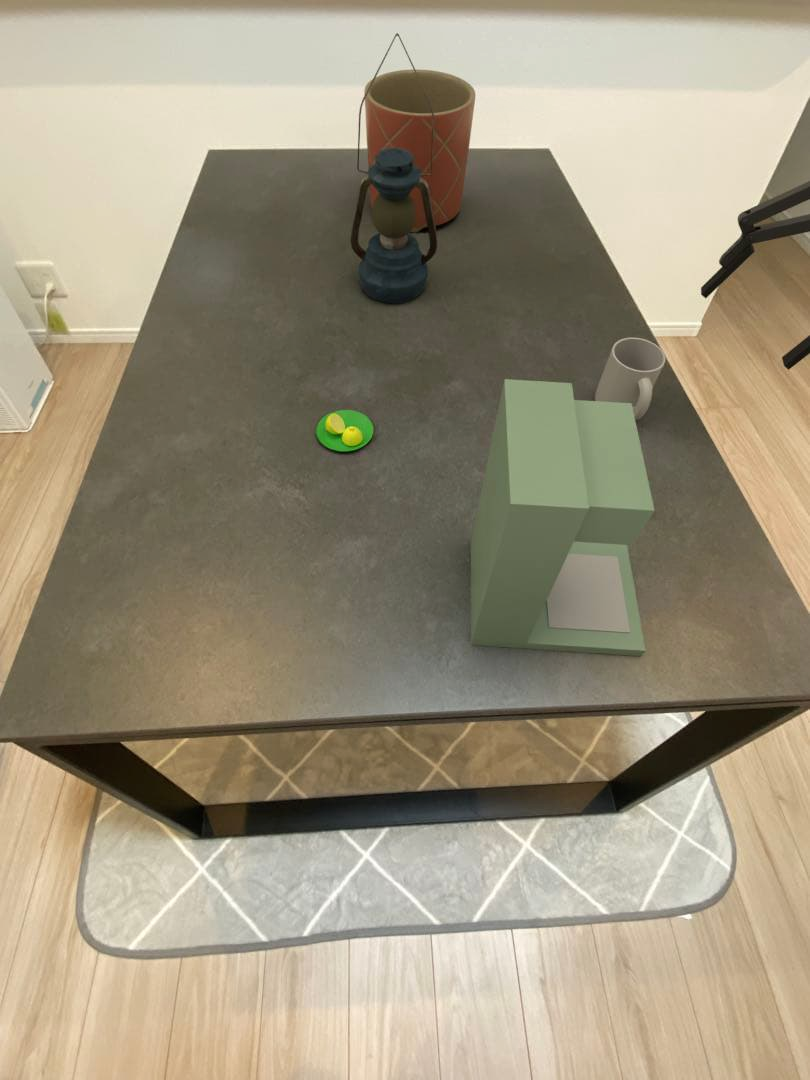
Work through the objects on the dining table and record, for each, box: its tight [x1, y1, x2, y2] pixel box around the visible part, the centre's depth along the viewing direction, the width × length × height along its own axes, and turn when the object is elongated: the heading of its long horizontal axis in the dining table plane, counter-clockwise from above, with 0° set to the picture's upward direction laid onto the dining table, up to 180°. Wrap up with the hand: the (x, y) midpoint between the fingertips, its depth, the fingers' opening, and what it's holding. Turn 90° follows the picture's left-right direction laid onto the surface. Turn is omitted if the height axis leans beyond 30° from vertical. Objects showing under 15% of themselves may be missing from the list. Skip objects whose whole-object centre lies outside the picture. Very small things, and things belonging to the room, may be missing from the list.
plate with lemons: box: [315, 409, 374, 452], centre depth 84 cm, size 8×8×3 cm
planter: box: [363, 69, 476, 234], centre depth 111 cm, size 19×19×20 cm
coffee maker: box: [470, 378, 656, 657], centre depth 60 cm, size 19×14×26 cm
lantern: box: [350, 33, 438, 304], centre depth 90 cm, size 14×12×35 cm
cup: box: [594, 337, 666, 421], centre depth 85 cm, size 7×10×9 cm
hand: (744, 329), depth 73 cm, fingers open, 13 cm apart
